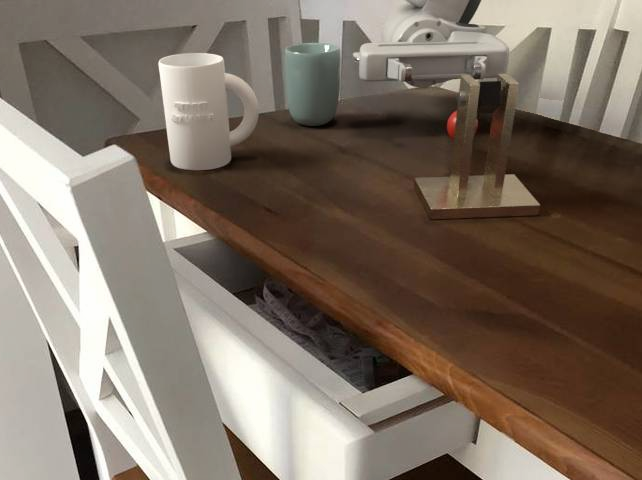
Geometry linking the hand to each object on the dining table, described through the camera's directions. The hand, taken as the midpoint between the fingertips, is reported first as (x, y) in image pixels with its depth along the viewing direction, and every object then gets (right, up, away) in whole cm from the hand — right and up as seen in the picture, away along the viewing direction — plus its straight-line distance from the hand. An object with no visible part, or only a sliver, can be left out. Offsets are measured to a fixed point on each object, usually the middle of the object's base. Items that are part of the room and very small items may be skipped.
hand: (443, 73), depth 94 cm
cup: (-17, 0, +16) cm, 23 cm away
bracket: (+2, -20, -10) cm, 22 cm away
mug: (-30, -10, +3) cm, 31 cm away
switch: (+1, -12, -12) cm, 17 cm away
